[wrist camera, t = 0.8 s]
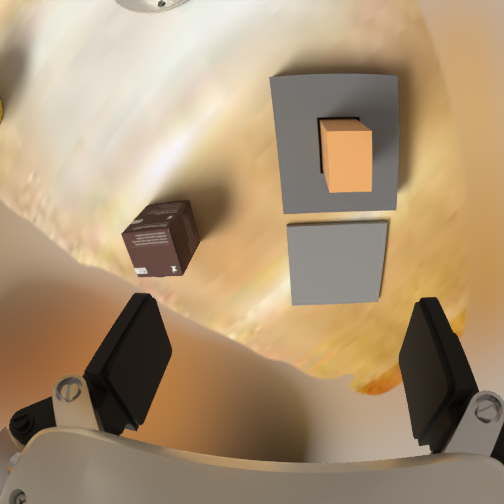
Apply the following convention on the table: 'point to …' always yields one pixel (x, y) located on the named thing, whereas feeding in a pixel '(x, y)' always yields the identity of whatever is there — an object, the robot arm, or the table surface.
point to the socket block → (308, 143)
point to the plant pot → (1, 110)
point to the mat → (336, 262)
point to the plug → (346, 154)
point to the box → (162, 239)
